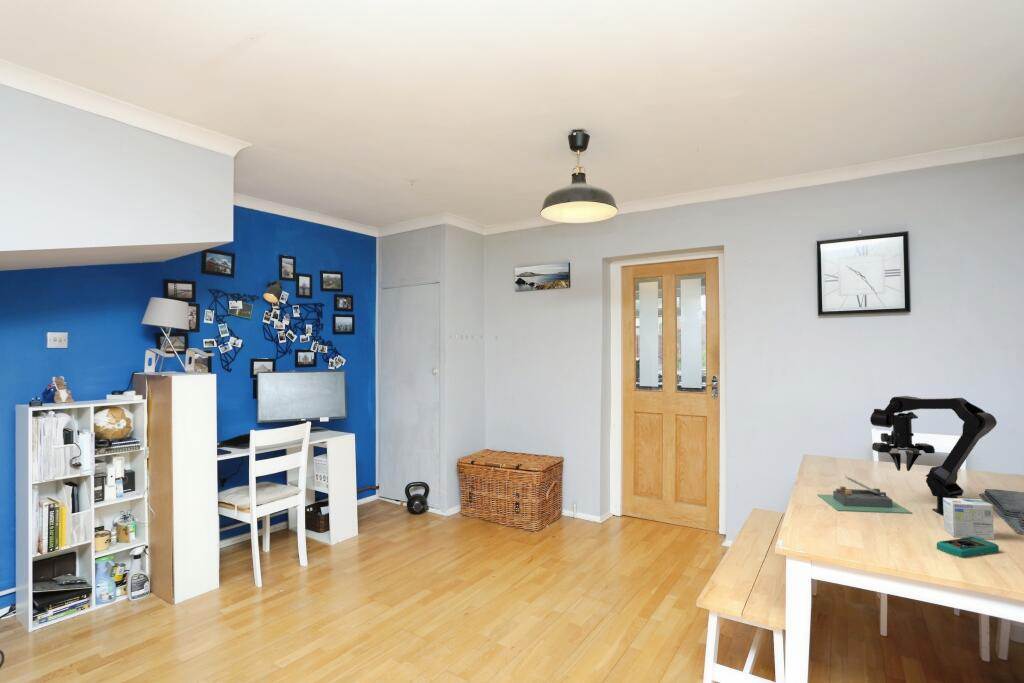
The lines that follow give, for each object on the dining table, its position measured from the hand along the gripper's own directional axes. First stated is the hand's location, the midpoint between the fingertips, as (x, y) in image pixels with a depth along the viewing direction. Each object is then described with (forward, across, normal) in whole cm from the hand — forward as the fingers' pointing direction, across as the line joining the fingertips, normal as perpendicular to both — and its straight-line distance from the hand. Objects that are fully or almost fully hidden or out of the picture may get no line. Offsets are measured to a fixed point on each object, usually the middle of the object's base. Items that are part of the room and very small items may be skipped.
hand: (903, 470), depth 201 cm
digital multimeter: (+13, +6, +48) cm, 50 cm away
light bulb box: (+12, -2, +34) cm, 36 cm away
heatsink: (+12, +16, +4) cm, 20 cm away
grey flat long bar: (+5, +16, +4) cm, 17 cm away
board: (+12, +16, +4) cm, 20 cm away
